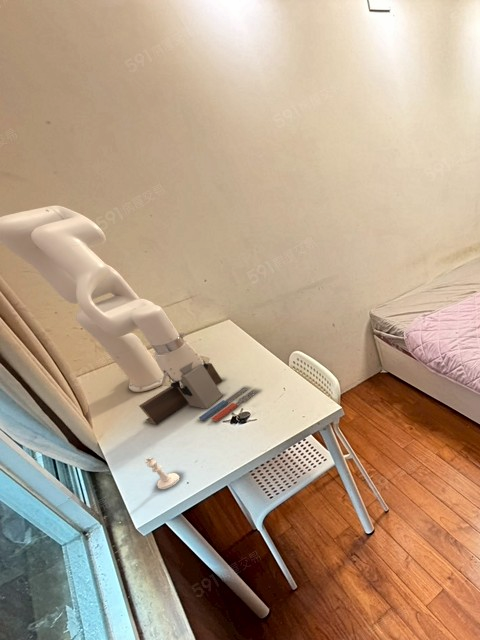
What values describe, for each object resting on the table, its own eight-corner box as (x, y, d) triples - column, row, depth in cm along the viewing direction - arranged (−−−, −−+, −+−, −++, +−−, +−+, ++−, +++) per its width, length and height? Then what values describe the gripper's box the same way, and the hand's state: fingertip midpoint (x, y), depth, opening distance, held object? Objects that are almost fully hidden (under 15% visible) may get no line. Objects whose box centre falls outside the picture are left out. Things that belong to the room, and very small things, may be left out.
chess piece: (154, 486, 105) (130, 462, 99) (171, 472, 109) (150, 448, 102) (166, 491, 103) (143, 467, 97) (183, 477, 107) (162, 453, 101)
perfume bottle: (207, 408, 130) (177, 365, 119) (190, 406, 131) (159, 363, 120) (222, 395, 135) (195, 353, 124) (206, 393, 136) (178, 351, 125)
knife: (200, 419, 126) (198, 417, 125) (244, 388, 138) (242, 385, 137) (204, 421, 125) (203, 419, 124) (248, 389, 137) (247, 387, 137)
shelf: (147, 421, 126) (131, 403, 121) (213, 378, 143) (201, 360, 138) (156, 425, 124) (141, 406, 120) (222, 380, 142) (211, 363, 137)
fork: (212, 420, 125) (210, 418, 124) (252, 390, 137) (251, 388, 136) (217, 422, 124) (216, 420, 124) (258, 392, 136) (257, 389, 135)
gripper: (186, 328, 126) (214, 371, 137) (130, 357, 113) (165, 402, 125) (202, 332, 124) (229, 376, 135) (147, 362, 111) (181, 407, 122)
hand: (198, 388), depth 130 cm, fingers closed on perfume bottle, 6 cm apart
